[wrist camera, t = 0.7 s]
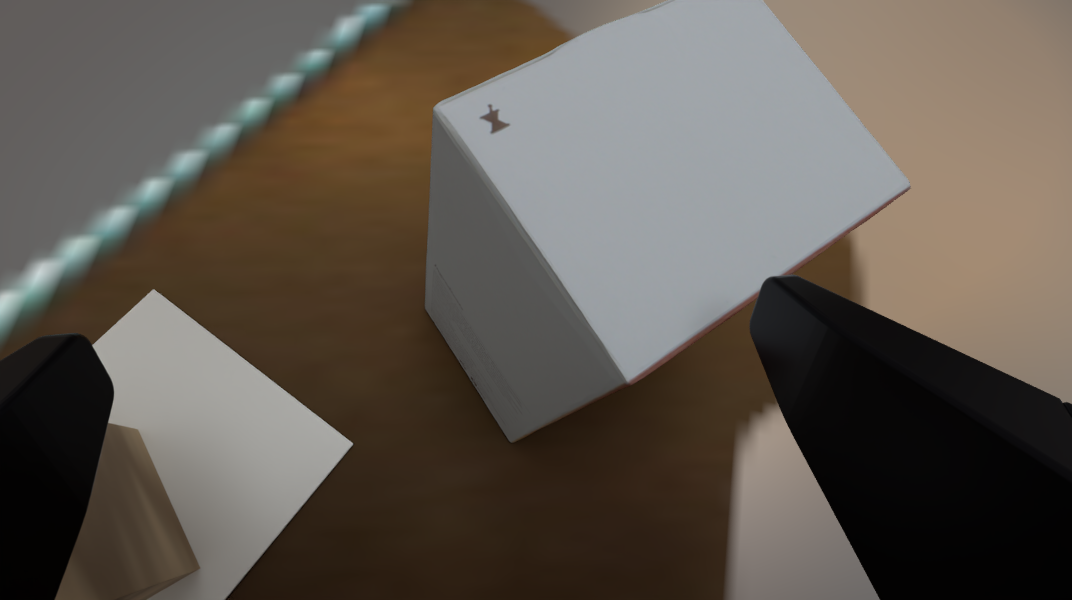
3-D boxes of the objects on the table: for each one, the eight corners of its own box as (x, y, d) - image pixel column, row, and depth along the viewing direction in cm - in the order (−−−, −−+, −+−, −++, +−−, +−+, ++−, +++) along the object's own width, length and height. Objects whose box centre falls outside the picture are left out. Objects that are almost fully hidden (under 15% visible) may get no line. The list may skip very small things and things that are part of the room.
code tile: (0, 872, 16) (-6, 878, 16) (-251, 665, 16) (-259, 667, 16) (353, 444, 21) (353, 443, 21) (156, 290, 21) (153, 289, 21)
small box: (510, 447, 22) (625, 395, 10) (420, 306, 23) (420, 97, 11) (672, 336, 24) (925, 183, 12) (585, 213, 25) (738, -42, 13)
